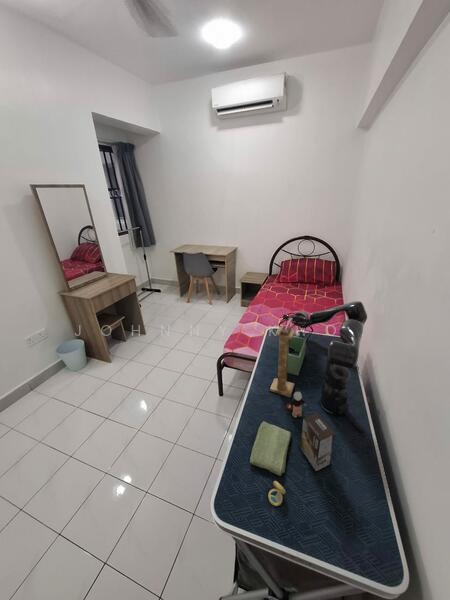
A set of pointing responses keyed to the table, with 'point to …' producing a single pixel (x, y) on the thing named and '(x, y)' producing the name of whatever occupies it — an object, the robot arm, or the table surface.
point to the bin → (296, 355)
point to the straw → (288, 324)
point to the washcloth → (270, 448)
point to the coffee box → (317, 441)
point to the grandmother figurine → (297, 404)
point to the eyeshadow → (276, 494)
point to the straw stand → (283, 363)
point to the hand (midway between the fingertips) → (294, 319)
